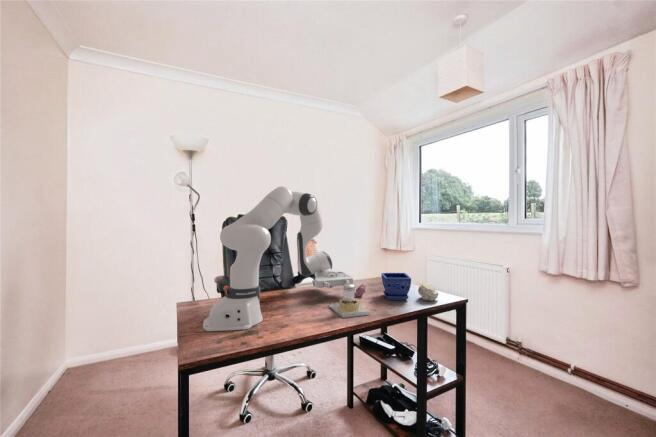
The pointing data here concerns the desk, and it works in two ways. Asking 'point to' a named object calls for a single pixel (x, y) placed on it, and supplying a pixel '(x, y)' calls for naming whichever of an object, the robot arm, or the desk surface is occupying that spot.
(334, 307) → the gold ring on slab
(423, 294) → the fossil replica
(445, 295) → the desk surface
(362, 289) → the purple stone
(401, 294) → the flower pot
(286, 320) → the desk surface
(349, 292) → the salt shaker
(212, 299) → the desk surface
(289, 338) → the desk surface
